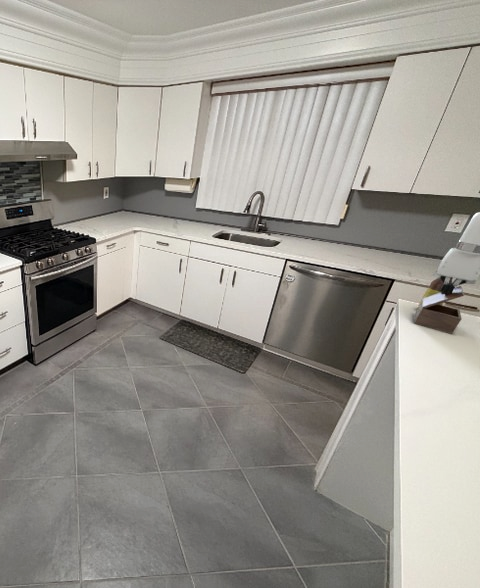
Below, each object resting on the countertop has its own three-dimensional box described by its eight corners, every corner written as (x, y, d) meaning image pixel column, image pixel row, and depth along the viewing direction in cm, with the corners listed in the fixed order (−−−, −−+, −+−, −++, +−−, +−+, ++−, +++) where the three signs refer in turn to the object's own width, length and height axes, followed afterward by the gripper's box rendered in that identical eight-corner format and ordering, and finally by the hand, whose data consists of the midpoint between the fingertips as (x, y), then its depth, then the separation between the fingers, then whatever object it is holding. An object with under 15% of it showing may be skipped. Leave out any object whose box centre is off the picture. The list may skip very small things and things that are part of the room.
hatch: (462, 287, 118) (460, 285, 118) (464, 295, 111) (462, 293, 111) (423, 300, 126) (422, 298, 126) (423, 308, 119) (422, 306, 119)
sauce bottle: (437, 317, 128) (463, 272, 119) (416, 312, 131) (440, 268, 123) (435, 311, 132) (461, 268, 123) (415, 306, 136) (439, 264, 127)
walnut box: (450, 324, 123) (459, 309, 120) (451, 334, 116) (461, 318, 113) (414, 314, 129) (422, 300, 126) (414, 323, 122) (422, 308, 120)
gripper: (502, 250, 107) (472, 297, 116) (441, 241, 117) (417, 285, 125) (506, 255, 103) (474, 303, 111) (442, 245, 112) (417, 290, 120)
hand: (444, 293), depth 118 cm, fingers closed
